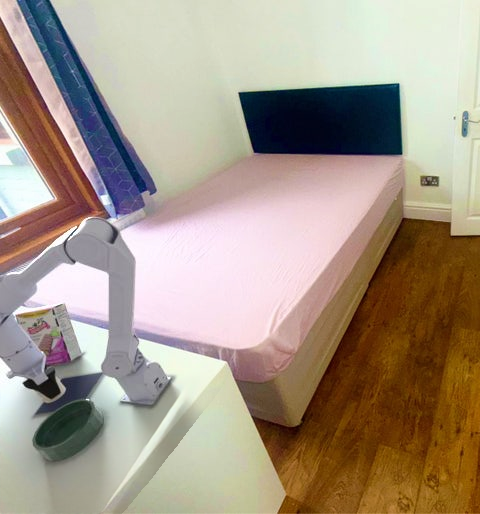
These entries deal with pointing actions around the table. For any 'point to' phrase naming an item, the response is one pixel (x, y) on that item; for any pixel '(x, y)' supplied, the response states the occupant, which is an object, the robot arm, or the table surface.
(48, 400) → the cream jar
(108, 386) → the table surface
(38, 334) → the candy bar box
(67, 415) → the bowl
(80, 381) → the napkin
